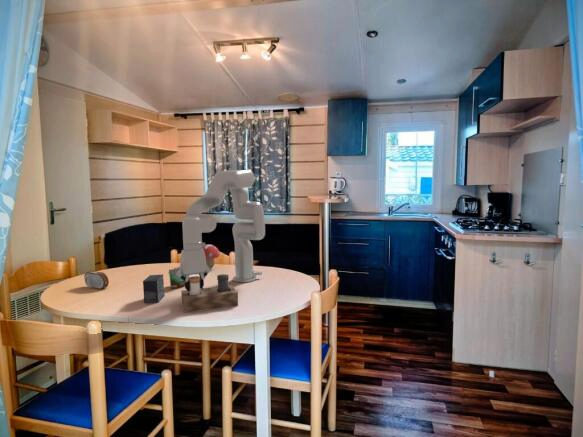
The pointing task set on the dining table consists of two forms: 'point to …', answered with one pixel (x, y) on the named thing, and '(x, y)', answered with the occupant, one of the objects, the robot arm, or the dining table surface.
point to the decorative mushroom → (210, 254)
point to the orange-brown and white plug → (194, 285)
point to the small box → (153, 289)
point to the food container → (176, 279)
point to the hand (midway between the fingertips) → (194, 288)
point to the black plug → (222, 282)
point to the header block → (209, 299)
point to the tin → (96, 280)
